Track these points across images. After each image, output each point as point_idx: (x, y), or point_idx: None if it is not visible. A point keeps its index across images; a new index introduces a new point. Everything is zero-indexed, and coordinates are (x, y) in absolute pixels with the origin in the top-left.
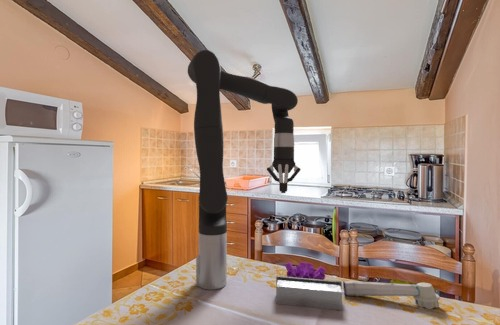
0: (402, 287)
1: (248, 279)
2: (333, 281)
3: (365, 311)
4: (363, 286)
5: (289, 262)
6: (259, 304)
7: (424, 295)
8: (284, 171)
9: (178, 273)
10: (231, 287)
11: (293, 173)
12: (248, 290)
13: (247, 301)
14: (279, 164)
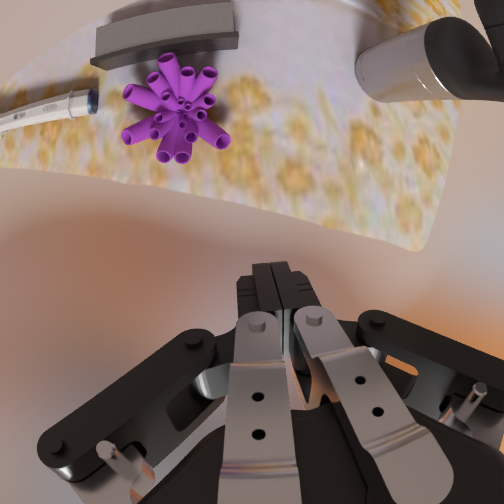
0: (6, 114)
1: (315, 104)
2: (105, 55)
3: (74, 53)
4: (57, 97)
5: (217, 138)
6: (264, 7)
7: None
8: (295, 431)
9: (449, 121)
10: (340, 61)
11: (141, 409)
12: (301, 52)
13: (290, 13)
14: (436, 498)
